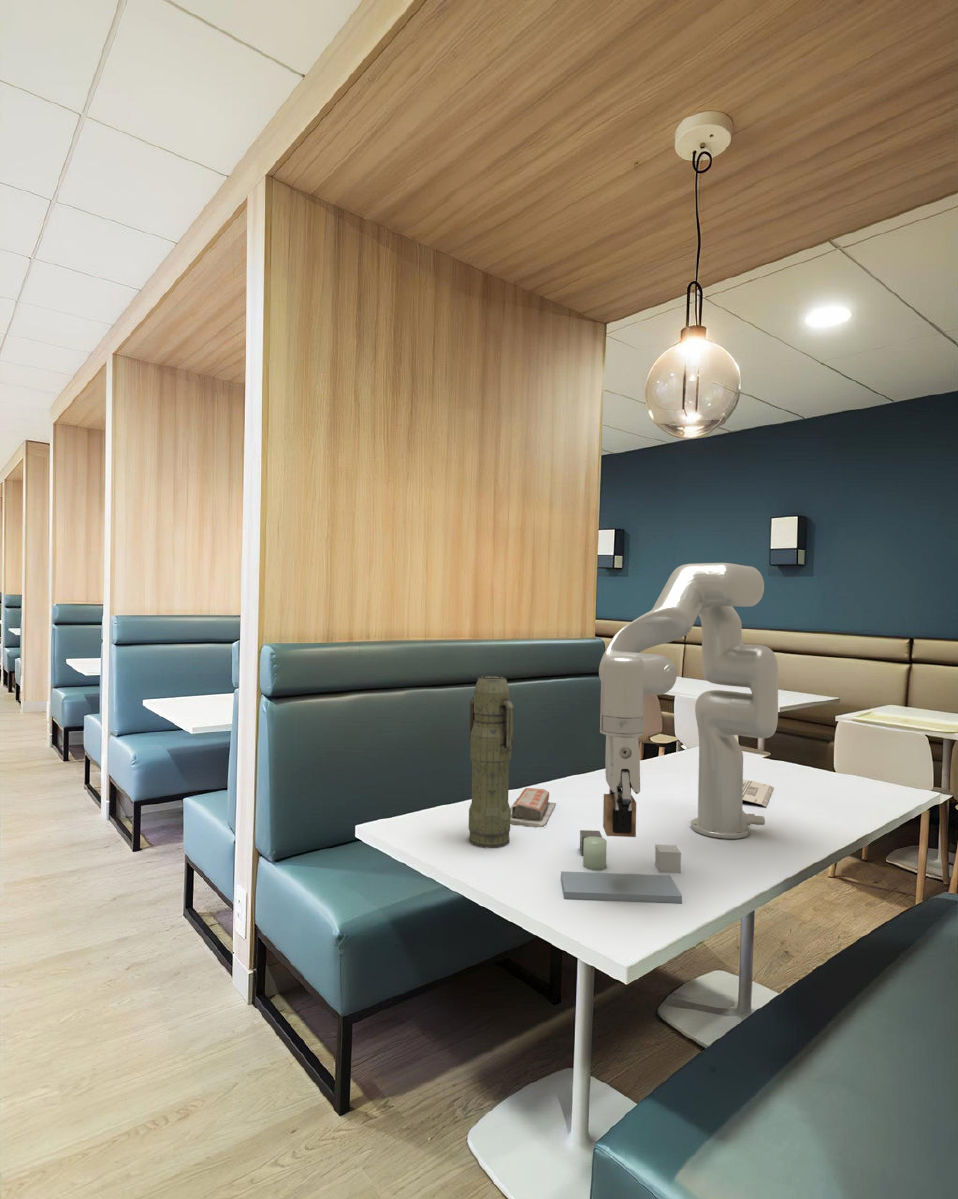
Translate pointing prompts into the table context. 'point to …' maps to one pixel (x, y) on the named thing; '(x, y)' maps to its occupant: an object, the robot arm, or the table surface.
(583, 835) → the dark metal block
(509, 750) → the thermos
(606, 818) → the walnut block
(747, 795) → the newspaper
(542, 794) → the packaged product
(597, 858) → the sage plastic cylinder
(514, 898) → the table surface
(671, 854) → the grey plastic cube
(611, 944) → the table surface
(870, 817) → the table surface
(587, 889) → the slate board
